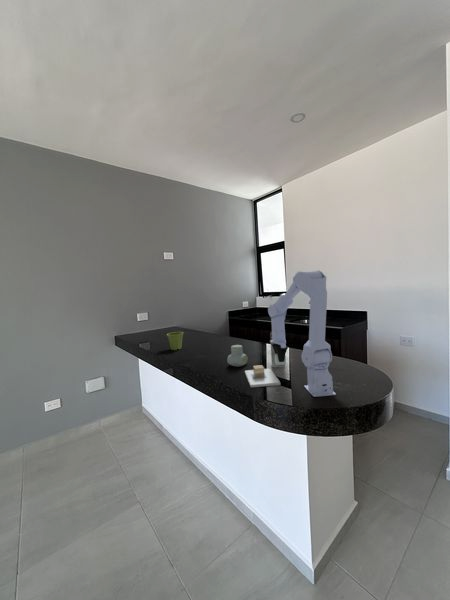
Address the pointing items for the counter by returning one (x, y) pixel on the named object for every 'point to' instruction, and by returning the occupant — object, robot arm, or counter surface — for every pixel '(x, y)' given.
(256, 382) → the plate
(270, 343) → the coffee box
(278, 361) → the sage block
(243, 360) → the air freshener
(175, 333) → the plant pot
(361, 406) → the counter surface
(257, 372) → the maple block
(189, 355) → the counter surface
